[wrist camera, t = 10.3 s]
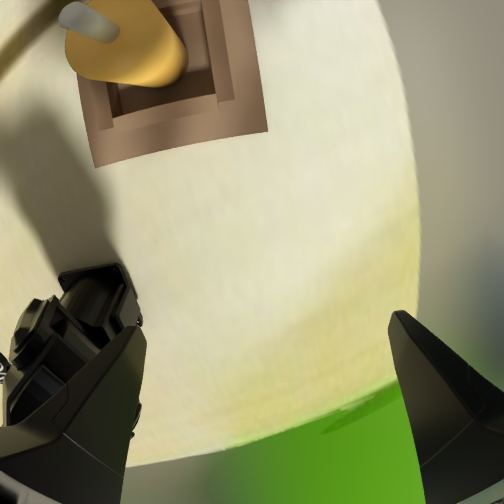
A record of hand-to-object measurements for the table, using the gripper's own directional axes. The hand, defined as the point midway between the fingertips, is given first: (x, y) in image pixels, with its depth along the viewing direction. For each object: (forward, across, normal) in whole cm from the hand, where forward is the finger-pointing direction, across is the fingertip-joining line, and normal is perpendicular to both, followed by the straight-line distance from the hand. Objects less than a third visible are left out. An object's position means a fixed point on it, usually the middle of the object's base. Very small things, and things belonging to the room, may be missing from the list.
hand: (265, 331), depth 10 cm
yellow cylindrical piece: (+12, +6, -10) cm, 17 cm away
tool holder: (+13, +6, -10) cm, 18 cm away
